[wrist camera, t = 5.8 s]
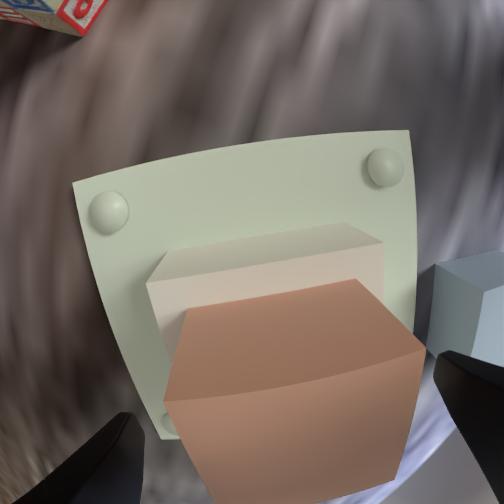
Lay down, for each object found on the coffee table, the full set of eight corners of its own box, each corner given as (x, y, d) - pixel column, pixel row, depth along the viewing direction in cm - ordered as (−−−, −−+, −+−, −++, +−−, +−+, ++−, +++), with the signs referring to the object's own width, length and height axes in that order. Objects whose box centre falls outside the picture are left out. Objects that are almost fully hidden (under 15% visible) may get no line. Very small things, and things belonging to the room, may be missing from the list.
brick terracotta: (356, 278, 9) (426, 348, 5) (355, 400, 10) (394, 479, 6) (187, 308, 9) (163, 401, 5) (222, 425, 10) (223, 515, 6)
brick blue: (495, 249, 14) (543, 270, 10) (483, 324, 15) (522, 354, 11) (433, 262, 14) (483, 291, 10) (424, 346, 15) (462, 386, 11)
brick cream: (344, 221, 12) (383, 242, 9) (350, 364, 14) (376, 411, 11) (168, 250, 12) (146, 283, 9) (206, 390, 14) (202, 444, 10)
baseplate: (401, 131, 12) (413, 129, 11) (400, 388, 16) (407, 399, 15) (78, 182, 11) (67, 183, 11) (162, 432, 15) (160, 444, 14)
